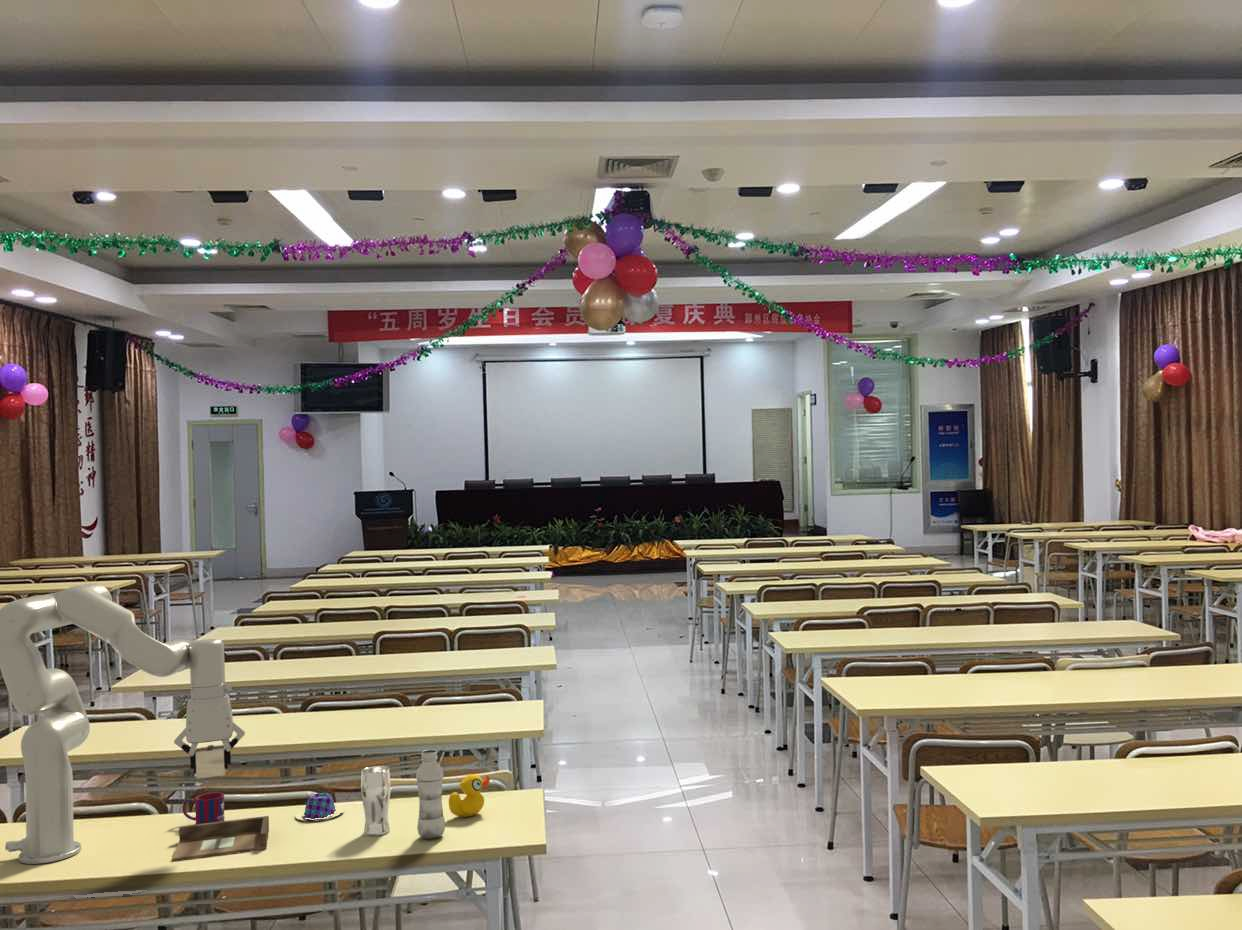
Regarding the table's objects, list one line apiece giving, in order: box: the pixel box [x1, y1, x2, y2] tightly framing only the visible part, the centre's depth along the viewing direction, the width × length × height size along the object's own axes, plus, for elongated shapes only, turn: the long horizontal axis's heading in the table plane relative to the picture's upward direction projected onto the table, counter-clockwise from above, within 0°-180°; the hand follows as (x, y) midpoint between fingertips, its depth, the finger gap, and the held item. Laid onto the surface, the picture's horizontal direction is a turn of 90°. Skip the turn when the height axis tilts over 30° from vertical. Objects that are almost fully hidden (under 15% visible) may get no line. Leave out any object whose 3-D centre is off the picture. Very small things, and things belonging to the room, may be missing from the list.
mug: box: [182, 792, 225, 825], centre depth 250 cm, size 7×10×7 cm
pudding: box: [295, 792, 336, 822], centre depth 254 cm, size 12×12×5 cm
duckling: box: [448, 773, 491, 818], centre depth 250 cm, size 11×5×10 cm, turn 127°
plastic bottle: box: [415, 749, 446, 840], centre depth 234 cm, size 6×7×20 cm
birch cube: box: [195, 743, 226, 780], centre depth 232 cm, size 6×6×6 cm
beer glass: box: [360, 765, 392, 837], centre depth 239 cm, size 7×7×15 cm
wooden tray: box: [171, 815, 270, 862], centre depth 233 cm, size 20×14×4 cm
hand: (211, 768), depth 232 cm, fingers closed on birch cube, 6 cm apart
